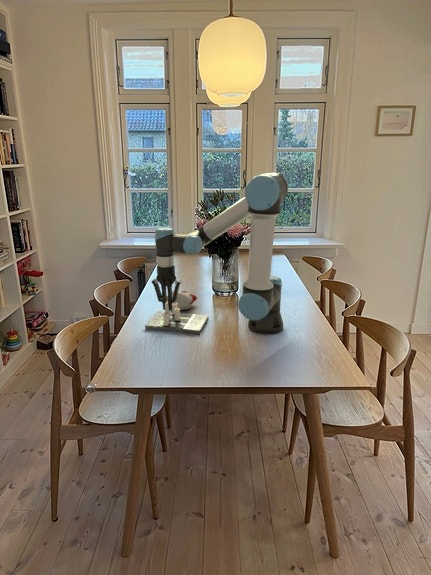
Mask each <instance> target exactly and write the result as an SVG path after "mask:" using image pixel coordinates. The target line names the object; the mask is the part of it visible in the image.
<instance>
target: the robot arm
mask: <svg viewBox="0 0 431 575" xmlns="http://www.w3.org/2000/svg"><path fill="white" fill-rule="evenodd" d="M288 192H289V185H288V181H287V180H286V178H285V177H284V176H283V175H281V174H280V173H278V172H267V173H259V174H258V175H255V176H254V177H253V178H251V179H250V180H249V181H248V182H247V184H246V186H245V189H244V197H242V198H240V199H239V200H238V201H236V202H234V203H233V204H232V205H230V206H229V207H228V208H226V209H225V210H224V211H222V212H221V213H218V214H217V215H216V216H214V217H213V218H212V219H210V220H208V221H207V222H206V223H205V224H202V225H201V226H200V227H198V228H196V229H195V230H193V231H191V232H188V233H185V234H181V233H180V234H179V233H178V234H177V233H175V231H174V229H173V228H172V227H167V226H166V227H158V228H156V229H155V232H154V233H155V234H154V240H155V242H154V243H155V260H156V265H157V266H156V273H157V274H156V278H154V279H152V280H151V284H152V285H153V287H154V290H155V294H156V297H157V300H158V302H160V303H162V309H163V311H164V312H165V313H169V317H170V316H171V312H172V303H174V302H175V301H176V299H177V294H178V291H179V290H180V289H179V288H180V285H181V284H182V280H179V279H177V276H176V268H175V267H176V266H175V253H176V254H177V253H178V254H185V255H186V254H187V255H198V254H200V252H201V251H202V248H203V247H205V246H207V245H209V244H210V243H211V242H212V241H214V240H215V239H217V238H218V237H221V235H223V234H224V233H226V232H228V231H229V230H231V229H232V228H234V227H235V226H237V225H239V224H241V223H242V222H243V221H245V220H246V219H248V218H249V217H251V220H250V235H249V237H250V238H249V249H248V265H247V266H248V267H247V277H246V279H245V280H244V281H243V284H242V294H241V296H240V297H239V300H238V302H237V305H238V310H239V312H240V313H241V315H242V316H243V317H244V318H245V319H247V320H248V321H247V328H248V329H249V331H251V332H252V333H255V334H259V335H264V336H265V335H268V336H269V335H276V334H279V333H281V332H282V331H283V330H284V322H283V321H284V320H283V318H282V314H281V313H282V312H281V300H282V286H283V285H282V283H283V282H282V279H281V277H279V276H275V275H271V273H272V272H271V271H272V263H273V262H272V261H273V260H272V259H273V247H274V236H275V226H276V218H277V217H279V215H281V209H282V208H281V207H282V202H283V200H284V199H285V198H286V197H287V195H288ZM173 285H175V286H174V290H173ZM172 291H174V294H173V299H172ZM167 296H168V302H166V301H167Z"/></svg>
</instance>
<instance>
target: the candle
mask: <svg viewBox="0 0 431 575" xmlns="http://www.w3.org/2000/svg"><path fill="white" fill-rule="evenodd" d="M173 294H174V290H172V299H173ZM197 299H198V298H197V296H196V295H194V294H191V293H189V292H188V291H187V290H186V291H184V290H183V291H179V290H178V294H177V299H176V301H175V302H174V303H178V308H180V311H184V310H188V311H189V310H190V309H191V307H192V306H193V304H194V302H195V301H197ZM166 302H168V295H167V301H166ZM172 304H173V303H172Z"/></svg>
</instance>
